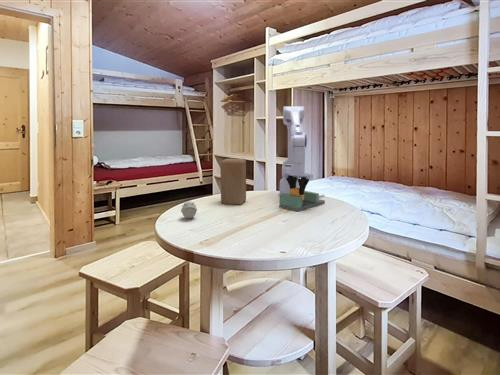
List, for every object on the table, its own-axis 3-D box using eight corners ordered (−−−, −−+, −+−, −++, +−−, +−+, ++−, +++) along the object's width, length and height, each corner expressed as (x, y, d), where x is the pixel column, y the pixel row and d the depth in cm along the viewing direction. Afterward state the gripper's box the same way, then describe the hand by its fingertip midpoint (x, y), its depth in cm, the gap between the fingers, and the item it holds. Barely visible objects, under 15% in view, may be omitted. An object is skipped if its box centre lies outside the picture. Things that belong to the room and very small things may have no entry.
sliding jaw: (297, 199, 155) (298, 190, 155) (306, 196, 160) (307, 188, 159) (315, 202, 148) (316, 193, 148) (324, 200, 153) (325, 191, 152)
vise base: (279, 207, 147) (279, 194, 146) (306, 200, 160) (307, 187, 159) (297, 211, 140) (297, 197, 139) (324, 203, 153) (325, 190, 152)
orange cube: (289, 200, 146) (289, 189, 145) (296, 198, 150) (296, 187, 149) (296, 201, 143) (297, 190, 142) (304, 199, 147) (304, 188, 146)
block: (241, 205, 150) (241, 161, 146) (220, 204, 152) (219, 160, 148) (246, 200, 160) (246, 158, 156) (226, 199, 162) (225, 158, 158)
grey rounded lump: (182, 221, 126) (181, 203, 124) (180, 216, 132) (180, 199, 131) (198, 220, 127) (197, 202, 126) (196, 215, 134) (195, 198, 133)
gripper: (279, 162, 146) (278, 192, 149) (306, 165, 136) (305, 197, 138) (289, 160, 151) (288, 190, 153) (316, 163, 141) (315, 195, 143)
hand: (297, 193), depth 146 cm, fingers closed on orange cube, 4 cm apart
